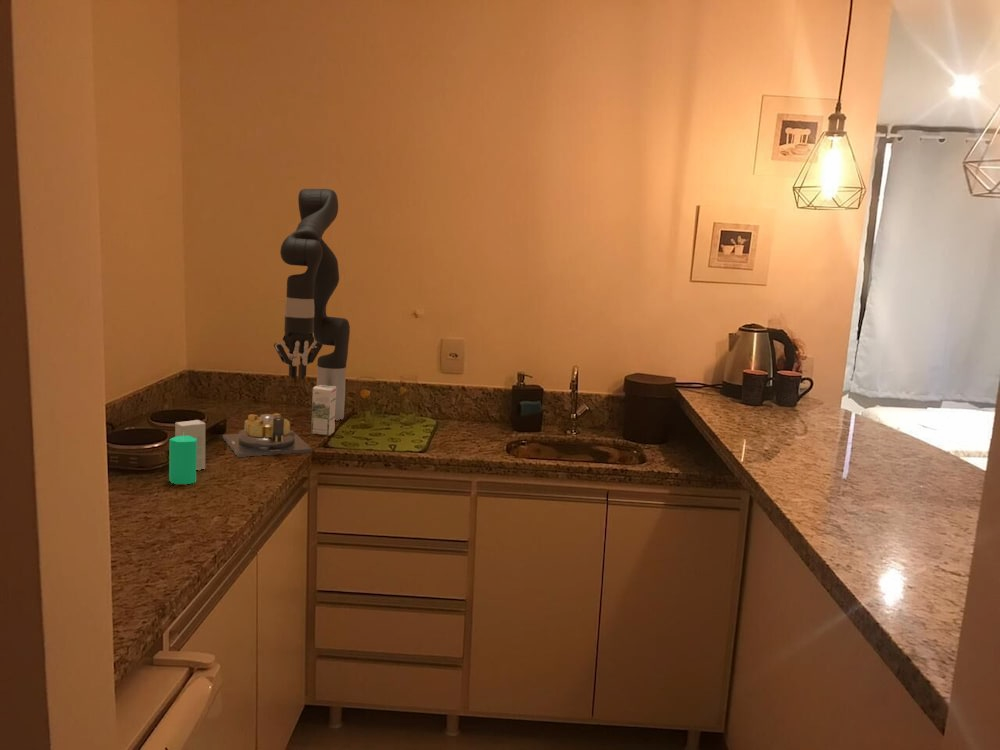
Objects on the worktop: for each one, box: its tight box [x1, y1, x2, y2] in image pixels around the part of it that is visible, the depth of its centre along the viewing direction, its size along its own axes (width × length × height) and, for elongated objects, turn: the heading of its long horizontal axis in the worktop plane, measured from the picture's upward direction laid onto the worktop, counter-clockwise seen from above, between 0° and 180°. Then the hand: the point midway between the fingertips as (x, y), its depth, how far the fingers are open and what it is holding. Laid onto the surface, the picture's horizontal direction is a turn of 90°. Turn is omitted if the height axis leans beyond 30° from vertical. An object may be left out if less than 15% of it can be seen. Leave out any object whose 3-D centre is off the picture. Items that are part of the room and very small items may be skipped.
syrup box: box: [310, 384, 336, 437], centre depth 234 cm, size 6×6×14 cm
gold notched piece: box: [244, 412, 291, 442], centre depth 214 cm, size 19×12×7 cm, turn 30°
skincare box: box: [174, 419, 207, 471], centre depth 191 cm, size 6×4×12 cm
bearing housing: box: [222, 413, 313, 458], centre depth 218 cm, size 20×20×8 cm
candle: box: [168, 432, 197, 485], centre depth 182 cm, size 6×6×12 cm
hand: (297, 378), depth 209 cm, fingers closed
